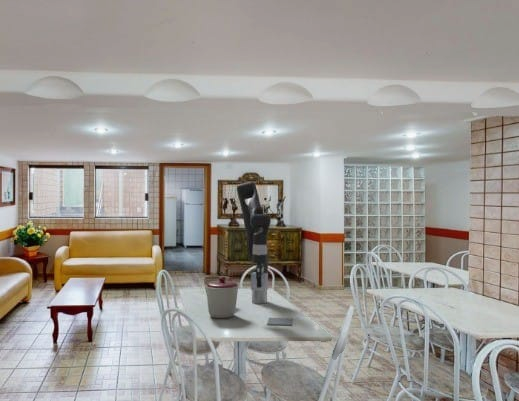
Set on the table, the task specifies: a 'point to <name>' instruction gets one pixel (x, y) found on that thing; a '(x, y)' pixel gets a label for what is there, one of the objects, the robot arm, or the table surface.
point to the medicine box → (263, 282)
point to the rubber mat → (280, 321)
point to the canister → (222, 298)
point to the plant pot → (212, 279)
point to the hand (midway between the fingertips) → (259, 286)
